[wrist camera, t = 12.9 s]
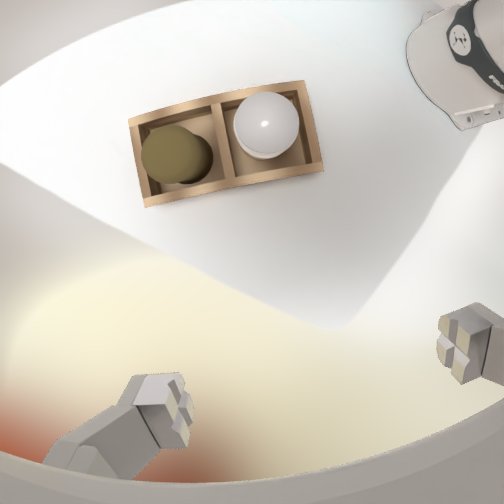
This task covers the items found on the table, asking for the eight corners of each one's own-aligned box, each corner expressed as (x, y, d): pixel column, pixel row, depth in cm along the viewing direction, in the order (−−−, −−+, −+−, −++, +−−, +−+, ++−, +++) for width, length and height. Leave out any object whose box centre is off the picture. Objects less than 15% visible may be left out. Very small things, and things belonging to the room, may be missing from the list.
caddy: (297, 92, 33) (304, 80, 28) (314, 171, 35) (323, 171, 30) (143, 125, 34) (128, 119, 29) (158, 203, 36) (145, 207, 31)
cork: (158, 139, 33) (127, 126, 23) (209, 129, 33) (197, 110, 23) (166, 188, 35) (137, 196, 24) (217, 179, 35) (208, 182, 24)
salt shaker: (281, 110, 33) (293, 84, 23) (291, 156, 34) (307, 148, 24) (233, 119, 33) (226, 96, 23) (243, 165, 34) (240, 161, 24)
